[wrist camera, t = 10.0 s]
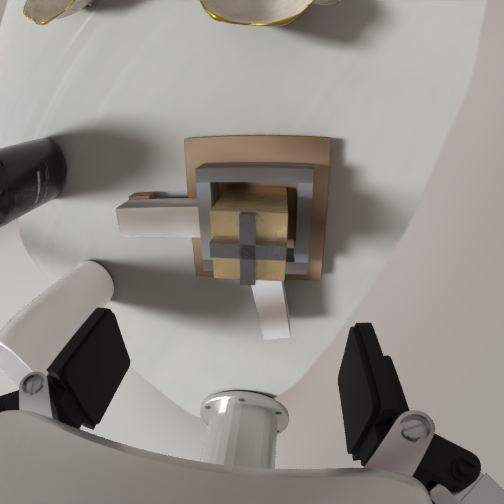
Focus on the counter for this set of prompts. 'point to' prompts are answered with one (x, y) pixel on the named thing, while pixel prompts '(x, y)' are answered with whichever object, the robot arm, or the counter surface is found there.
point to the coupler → (250, 234)
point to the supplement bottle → (29, 177)
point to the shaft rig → (245, 174)
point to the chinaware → (214, 3)
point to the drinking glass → (52, 320)
